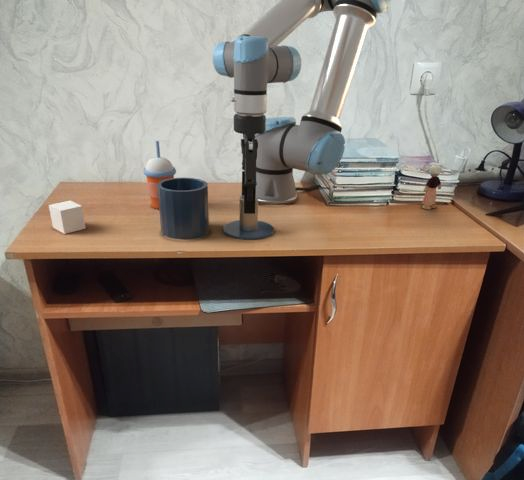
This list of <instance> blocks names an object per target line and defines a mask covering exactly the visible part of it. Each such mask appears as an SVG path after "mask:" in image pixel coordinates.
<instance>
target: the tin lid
mask: <svg viewBox="0 0 524 480" xmlns="http://www.w3.org/2000/svg"><path fill="white" fill-rule="evenodd" d="M238 198H239V199H238V200H239V203H238V205H239V206H238V207H239V209H238V210H239V212H238V213H239V216H238V217H239V218H238V220H233V221H230V222H228V223H226V224H224V225H223V228H222V232H223V233H224V234H225V235H226V236H228V237H230V238H233V239H238V240H246V241H254V240H262V239H265V238H269V237H271V236H272V235H273V234H274V231H275V229H274V226H273V225H271V223H268V222H265V221H262V220H259V204H258V197H257V196H256V199H255V214H244V195H243V196H242V195H241V196H239V197H238Z"/></svg>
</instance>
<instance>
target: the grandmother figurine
mask: <svg viewBox="0 0 524 480" xmlns="http://www.w3.org/2000/svg"><path fill="white" fill-rule="evenodd" d="M441 173H442V167H441V166H440V165H439V164H438V163H437V164H436V163H435V164H432V165H431V166H430V168H429V175H430V176H431V177H430V178H428V180H427V181H426V183H425V185H424V188H423V193H424V195H423V198H422V202H421V204H422V206H421V208H422V209H425V210H432V209H435V208H436V200H437V189H438V190H442V182H441V180H440V177H439V175H440V174H441Z"/></svg>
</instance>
